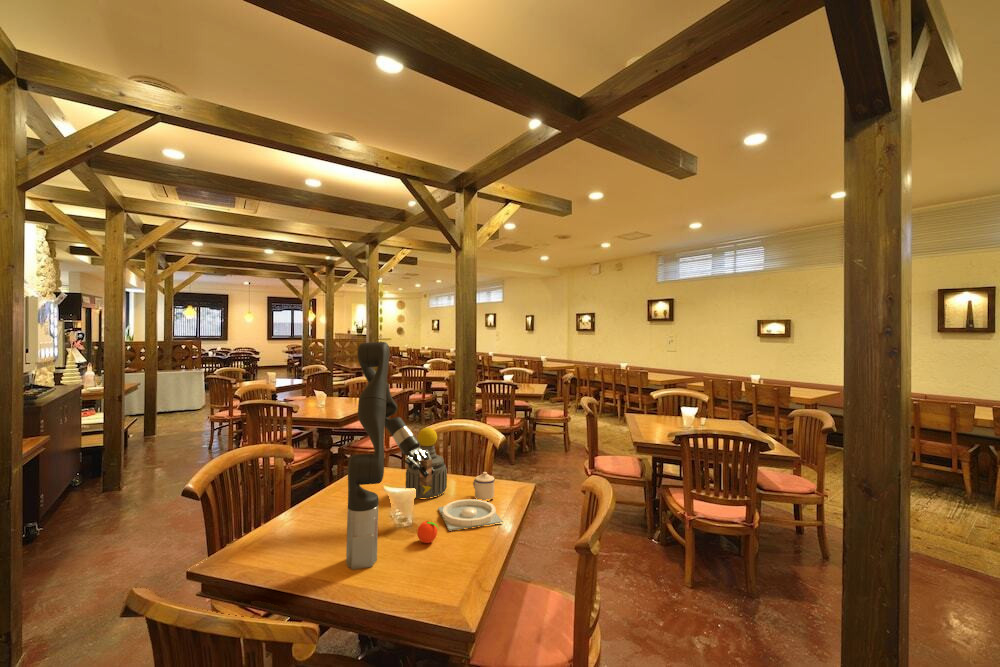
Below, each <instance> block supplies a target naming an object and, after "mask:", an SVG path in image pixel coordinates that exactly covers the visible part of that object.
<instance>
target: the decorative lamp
mask: <svg viewBox="0 0 1000 667" xmlns="http://www.w3.org/2000/svg"><path fill="white" fill-rule="evenodd" d="M417 440H418V441H419V443H420V445H419V446H420V448H421V449H422V450H423V451H426V450H428V451H429V453H430V456H431V459H432V467H433V469H434V471H435V472H434V473H433V474H432V484H430V485H428V486H422V485H419V484H420V471H418V470H413V469H412V468H411V467H410V466H409V465H408V464H407V469H406V470H405V484H404V485H405V489H406V488H415V489H416V498H430V497H434V496H438V495H440V494H442V493H443V492H444V491H445V492H446V490H447V487H448V484H447V483H448V468H447V466H446V464H445V459H444V458H443V457H442V456H441V455H439V454H437V453H436V448H435V447H436V446H435V444H436V443H437V440H438V434H437V432H436V431H435V429H433V428H431V427H423V428H422V429H421V430H420V431H419V432H418V435H417ZM423 459H424V458H423ZM413 466H414V464H413ZM442 495H443V494H442ZM416 498H415V499H416Z"/></svg>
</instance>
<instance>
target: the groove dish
mask: <svg viewBox="0 0 1000 667" xmlns="http://www.w3.org/2000/svg"><path fill="white" fill-rule="evenodd" d="M438 509H439V510H438ZM496 509H497V508H496V506H495V505H494V504H493V503H491V502H490V501H489V502H487V501H483V500H478V499H475V498H473V499H471V498H467V499H466V498H465V499H457V500H455V501H451V502H448V503H447V504H445V505H444V506H438V508H437V510H438V512H439V511H440V512H439V514H440V513H441V514H440V516H441V515H442V516H441V518H442V517H443V518H442V520H443V519H444V521H445V523H444V524H446V525H445V527H446V526H447V527H446V528H448V529H447V530H449V531H451V532H453V531H452V530H458V529H464V528H472V527H478V526H484V525H490V524H495V523H500V522H503V523H504V521H503V520H502V518H500V516H499V515H498V514H497V510H496ZM444 521H443V522H444ZM472 529H473V528H472ZM449 531H448V532H449ZM458 531H459V530H458Z"/></svg>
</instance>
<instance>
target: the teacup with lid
mask: <svg viewBox="0 0 1000 667" xmlns="http://www.w3.org/2000/svg"><path fill="white" fill-rule="evenodd" d="M472 485H473V488H474V498H475V497H476V498H477V499H482V500H486V499H491V498H493V497H494V498H495V477H494V476H493V475H490V474H488V472H487V471H483V472H482V474H480V475H477V476H475V477H474V479H473V482H472Z"/></svg>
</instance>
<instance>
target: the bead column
mask: <svg viewBox="0 0 1000 667" xmlns="http://www.w3.org/2000/svg"><path fill="white" fill-rule="evenodd" d="M421 463H422V464H423V467H424V468H425V469H426V470H427V472H428V473H429V475H428V476H427V477H426V478H424V476H423V475H422V474H421V472H420V484H419V485H422V486H428V485H430V484H432V459H428V457H425V458H424V459H422V460H421Z"/></svg>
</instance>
